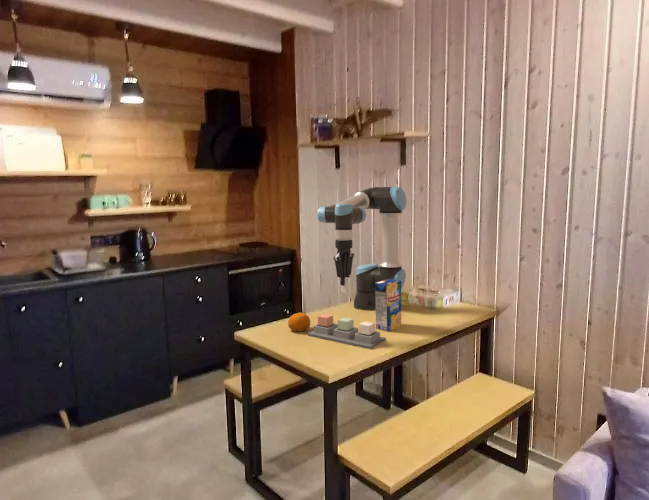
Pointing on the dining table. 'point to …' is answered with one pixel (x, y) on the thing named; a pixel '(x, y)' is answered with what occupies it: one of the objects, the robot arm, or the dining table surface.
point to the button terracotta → (325, 320)
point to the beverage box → (388, 304)
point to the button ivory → (366, 328)
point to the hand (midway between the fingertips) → (344, 292)
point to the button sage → (345, 324)
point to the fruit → (299, 322)
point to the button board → (347, 336)
